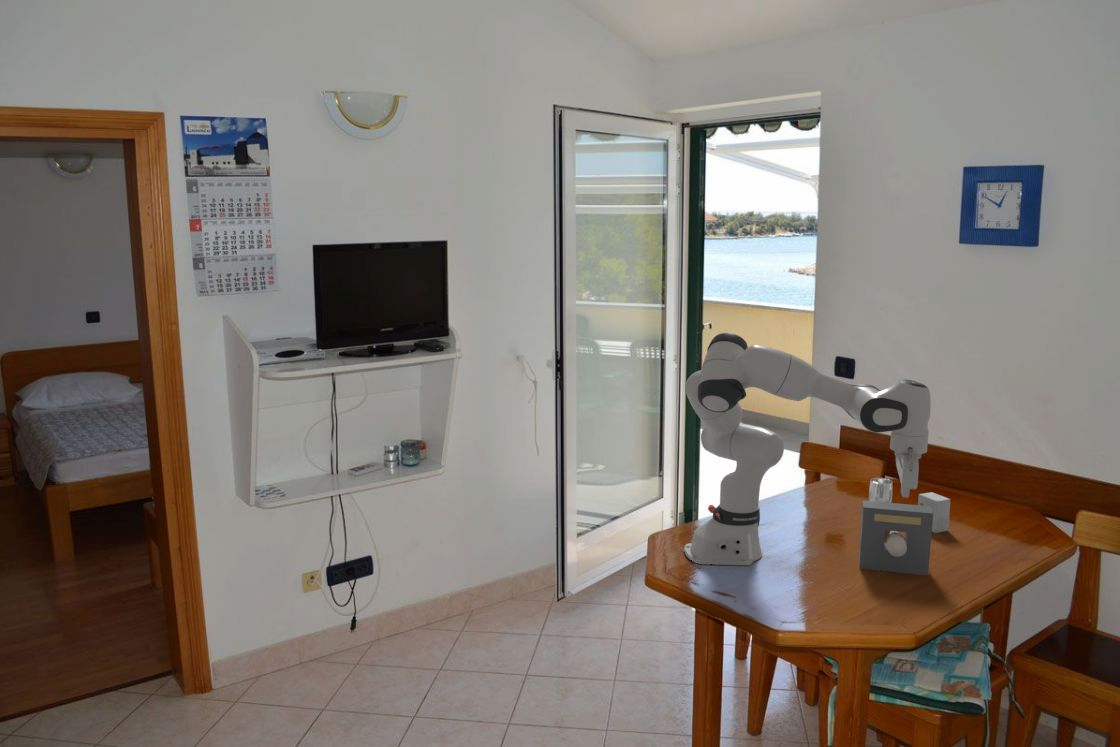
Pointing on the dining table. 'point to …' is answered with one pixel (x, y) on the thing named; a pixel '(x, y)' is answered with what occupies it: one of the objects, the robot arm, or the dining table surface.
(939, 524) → the small box
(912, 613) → the dining table surface
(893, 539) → the knob
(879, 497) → the beer glass
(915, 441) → the robot arm
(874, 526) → the control block
